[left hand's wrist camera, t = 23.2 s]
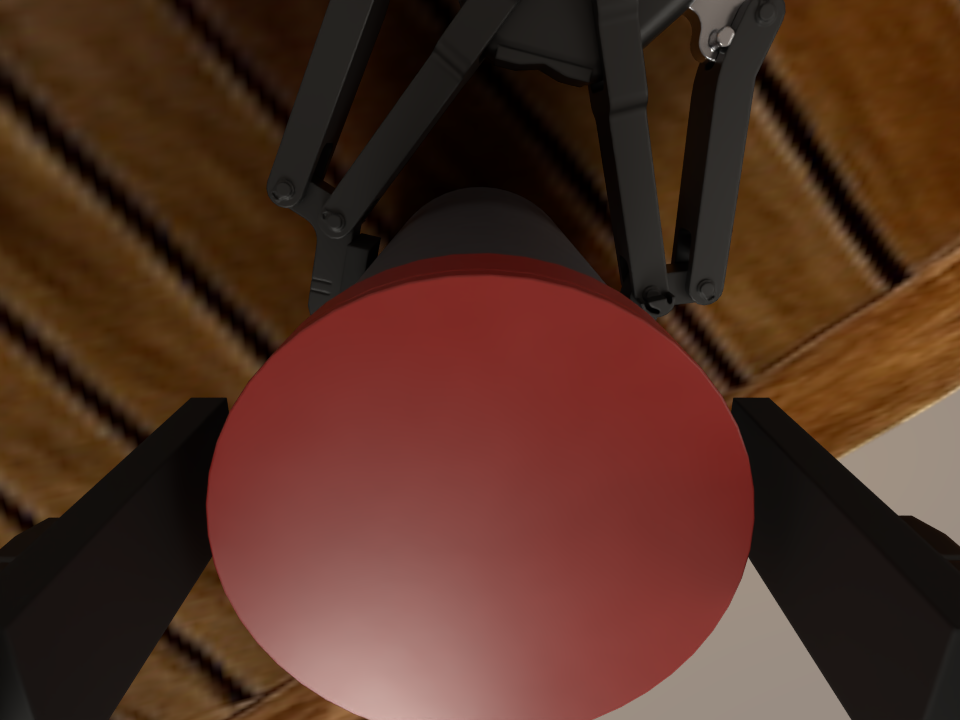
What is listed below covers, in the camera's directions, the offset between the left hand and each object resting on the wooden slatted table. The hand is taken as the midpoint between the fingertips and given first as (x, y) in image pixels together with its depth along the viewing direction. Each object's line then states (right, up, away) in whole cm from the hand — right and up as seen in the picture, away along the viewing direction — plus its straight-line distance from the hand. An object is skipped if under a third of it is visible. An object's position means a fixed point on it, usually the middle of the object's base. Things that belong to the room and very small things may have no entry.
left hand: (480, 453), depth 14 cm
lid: (0, -1, -3) cm, 3 cm away
